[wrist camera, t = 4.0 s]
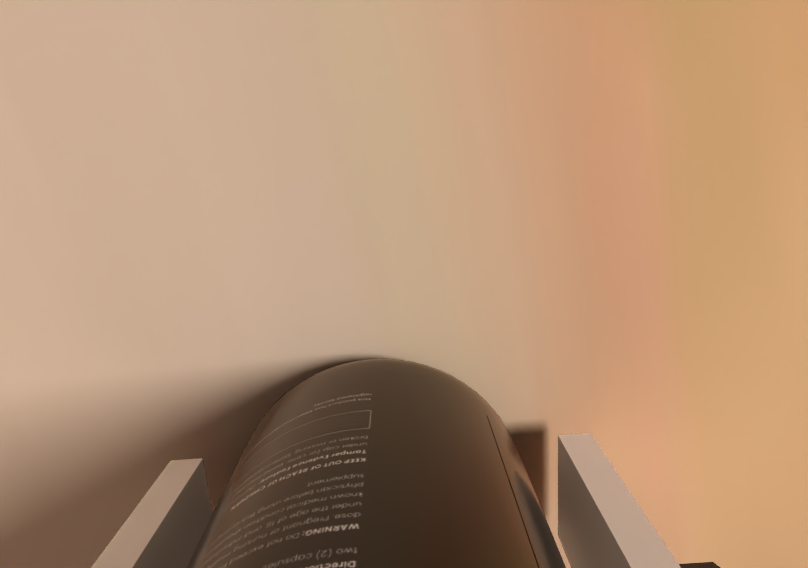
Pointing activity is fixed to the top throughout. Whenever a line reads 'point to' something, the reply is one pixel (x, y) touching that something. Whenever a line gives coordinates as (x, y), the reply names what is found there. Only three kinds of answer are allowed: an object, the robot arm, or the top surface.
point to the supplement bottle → (379, 480)
